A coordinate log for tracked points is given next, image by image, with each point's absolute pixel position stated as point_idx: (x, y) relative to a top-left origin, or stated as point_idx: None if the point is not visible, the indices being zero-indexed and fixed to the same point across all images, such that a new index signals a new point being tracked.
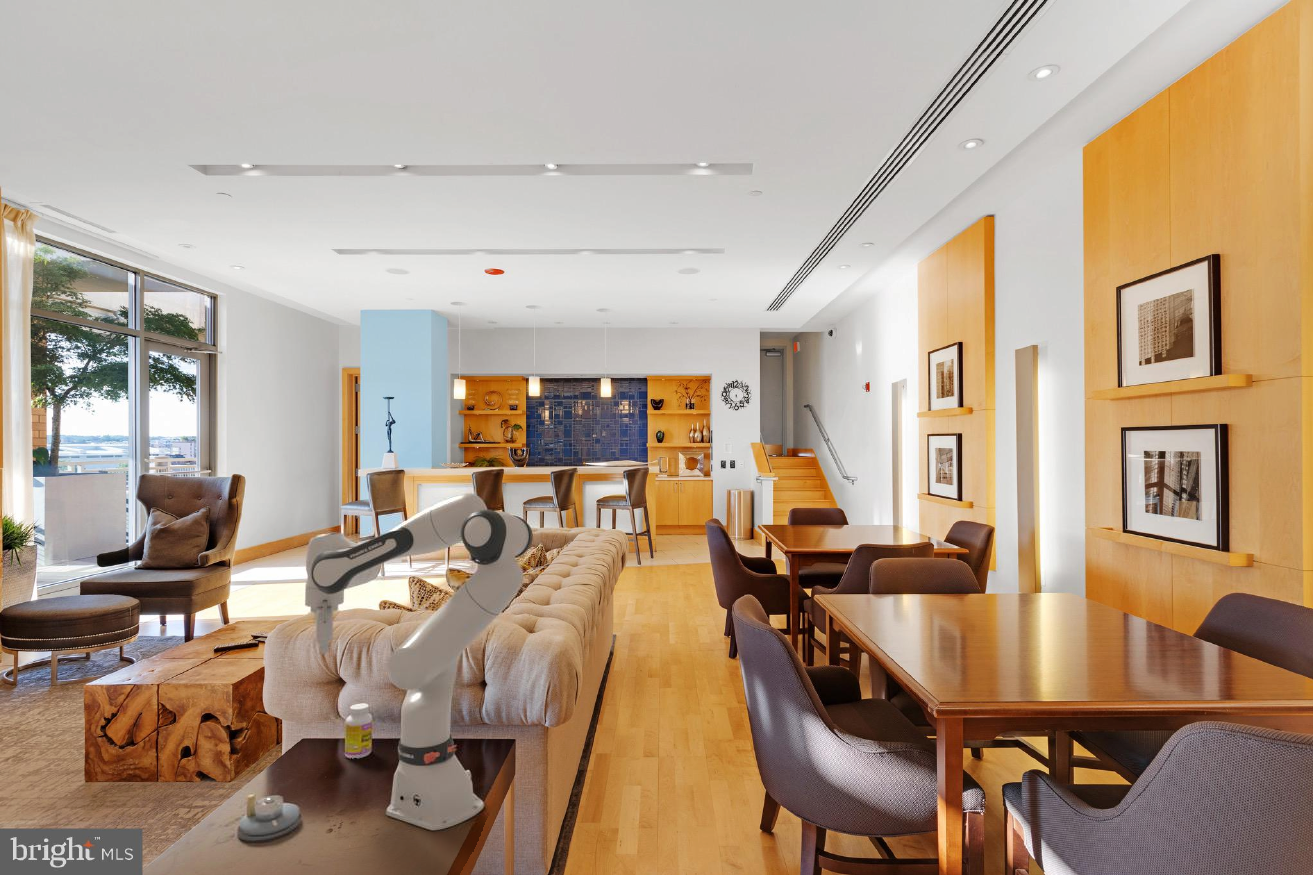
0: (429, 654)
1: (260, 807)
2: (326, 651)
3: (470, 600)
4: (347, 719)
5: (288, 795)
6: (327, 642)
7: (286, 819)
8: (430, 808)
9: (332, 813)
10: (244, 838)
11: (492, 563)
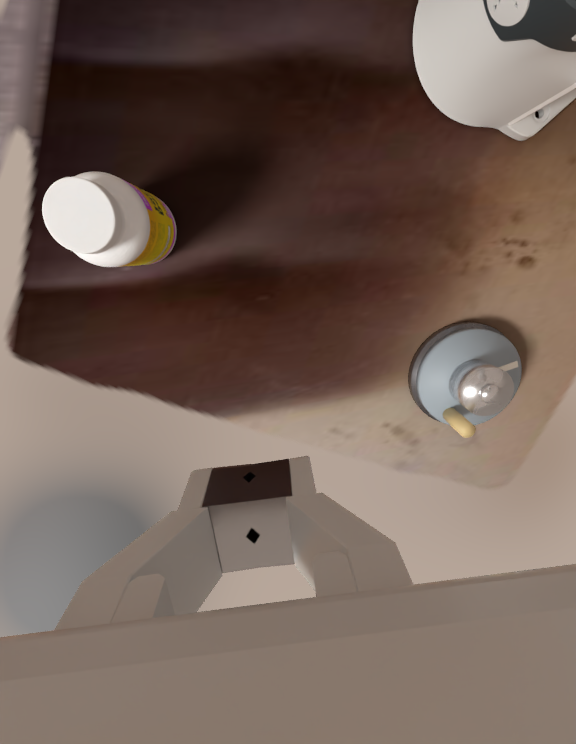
0: None
1: (507, 403)
2: (308, 466)
3: None
4: (118, 260)
5: (333, 362)
6: (361, 526)
7: (502, 348)
8: None
9: (456, 264)
10: None
11: None
